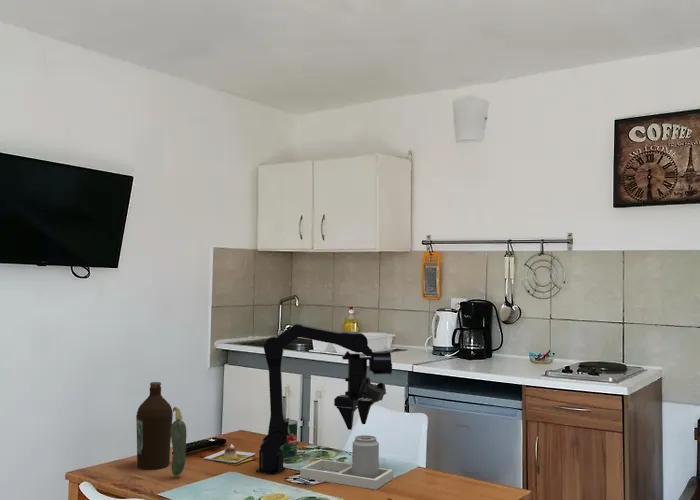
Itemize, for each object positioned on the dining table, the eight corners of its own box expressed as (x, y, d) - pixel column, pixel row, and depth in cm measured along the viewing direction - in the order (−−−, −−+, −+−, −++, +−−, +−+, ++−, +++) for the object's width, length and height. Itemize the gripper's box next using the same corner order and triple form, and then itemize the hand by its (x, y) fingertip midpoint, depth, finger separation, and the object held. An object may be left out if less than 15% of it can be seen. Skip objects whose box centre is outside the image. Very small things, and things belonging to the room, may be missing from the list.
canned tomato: (295, 459, 212) (296, 424, 212) (271, 458, 212) (271, 423, 213) (298, 453, 220) (298, 419, 220) (274, 452, 220) (274, 419, 220)
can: (379, 476, 193) (379, 434, 193) (377, 484, 185) (378, 440, 186) (353, 475, 193) (353, 433, 194) (351, 483, 186) (351, 439, 186)
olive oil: (168, 460, 209) (170, 379, 210) (173, 468, 199) (175, 384, 201) (133, 463, 205) (135, 381, 206) (136, 472, 195) (139, 386, 197)
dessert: (203, 461, 210) (203, 446, 210) (224, 452, 221) (225, 438, 221) (235, 465, 205) (236, 450, 205) (256, 457, 216) (256, 442, 217)
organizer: (300, 477, 192) (300, 468, 192) (321, 467, 203) (321, 459, 203) (375, 489, 181) (375, 480, 181) (393, 478, 192) (393, 469, 192)
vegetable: (188, 476, 191) (190, 406, 192) (179, 480, 187) (181, 408, 188) (174, 475, 193) (176, 405, 194) (166, 479, 189) (168, 407, 190)
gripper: (368, 380, 189) (367, 435, 188) (394, 372, 206) (393, 424, 205) (333, 377, 194) (332, 431, 193) (362, 370, 211) (361, 420, 210)
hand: (356, 426), depth 200 cm, fingers open, 9 cm apart
